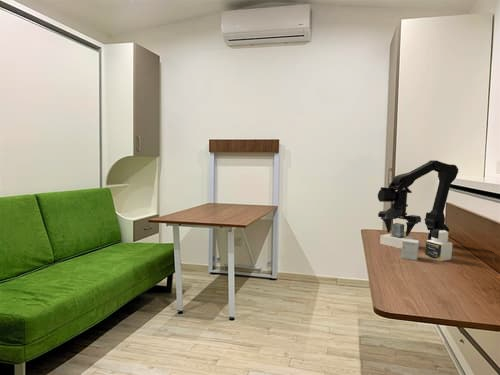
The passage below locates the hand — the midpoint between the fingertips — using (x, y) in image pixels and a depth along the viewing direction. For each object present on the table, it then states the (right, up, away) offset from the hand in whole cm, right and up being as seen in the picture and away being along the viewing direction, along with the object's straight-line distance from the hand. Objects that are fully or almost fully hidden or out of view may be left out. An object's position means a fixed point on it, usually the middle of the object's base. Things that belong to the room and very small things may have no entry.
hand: (397, 234), depth 167 cm
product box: (-4, -7, -22) cm, 23 cm away
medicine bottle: (+8, -7, -21) cm, 24 cm away
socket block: (0, -5, 0) cm, 5 cm away
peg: (0, -5, 0) cm, 5 cm away
